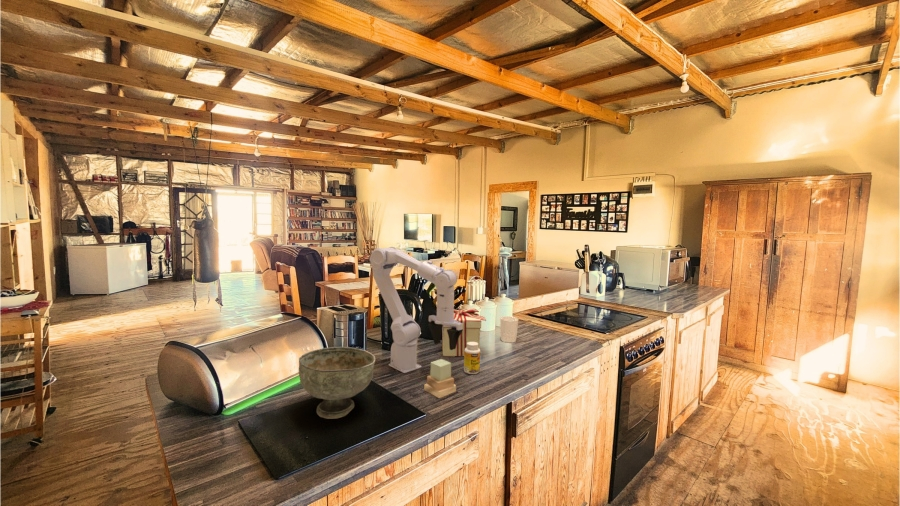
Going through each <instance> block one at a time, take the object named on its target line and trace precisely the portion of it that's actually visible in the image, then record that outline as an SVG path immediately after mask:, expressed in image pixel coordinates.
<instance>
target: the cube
mask: <svg viewBox="0 0 900 506" xmlns="http://www.w3.org/2000/svg"><path fill="white" fill-rule="evenodd" d="M429 371H430V372H429V373H430V374H429V375H430V377H432V378H435V379H437V380H439V381H442V380H445V379H447V378H450V377H452V362H450V361H447V360H445V359H442V358H440V359H437V360H434V361H431V362H430V369H429Z"/></svg>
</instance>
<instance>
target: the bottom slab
mask: <svg viewBox="0 0 900 506" xmlns="http://www.w3.org/2000/svg"><path fill="white" fill-rule="evenodd" d="M423 387H424V388H423V391H424V392H427V393H429V394H431V395H433V396H434V397H436V398H438V399H441V398H444V397H446V396H448V395H450V394H453V393H455V392H457V384H455V383H454V386H453V387H450V388H447V389H443V390H440V391H437V390H435V389H434V388H432V387H431V386H430V385H428V384H427V382H426V383H424V386H423Z"/></svg>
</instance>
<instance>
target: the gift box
mask: <svg viewBox="0 0 900 506" xmlns="http://www.w3.org/2000/svg"><path fill="white" fill-rule="evenodd" d="M479 313H480V311H479V310H478V309H477V308H470V309H467V308H466V309H461V310H460V309H459V310H458V309H455V308H454V319H455V320H456V321H458V322H460V323H463V331H462V333H461V334H460V336H459V339H458V341H457V345H456V349H453V350H450V347H449V336H448V333H447V329H451V327H448V326H445V325H443V326H442V336H441V338H442V339H441V341H442V343H441V345H442V346H441V347H442V357H455V356H464V352H465V348H466V347H467V343H468V342H477V343H478V348H479V349H480V343H481V342H480V341H481V340H480V339H481V338H480V337H481V329H482V321H485V322H486V321H487V319H486V317H485V316H481V315H480V314H479Z"/></svg>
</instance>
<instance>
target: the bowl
mask: <svg viewBox="0 0 900 506" xmlns="http://www.w3.org/2000/svg"><path fill="white" fill-rule="evenodd" d="M375 363H376V356H375V355H374V354H373V353H372V352H369V351H367V350H365V349H362V348H361V349H360V348H358V347H350V346H331V347H323V348H319V349H314V350H312V351H308V352H305V353H304V354H302V355H301V356H300V357H298V376H299V382H300V384H301V386H302V388H303V389H304V390H305V391H306V393H308V394H309V395H311V397H313V398H316V399H322V400H323V401H322V402H320V403H318V405H317V407H316V414H317V415H318V416H319V417H320V418H323V419H327V420H329V419H331V420H332V419H339V418H344V417H346V416H347V415H348V414H349V413H350V412H351V411H352V410H353V409H354V408H355V402H354V400H353V399H351V398H353V397H355V396H357V395H358V394H359V393H361V392H363V391H364V390H365V389H366V388H367V387H368V386H369V385H370V383H371V382H372V379H373V377H374V369H375Z"/></svg>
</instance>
